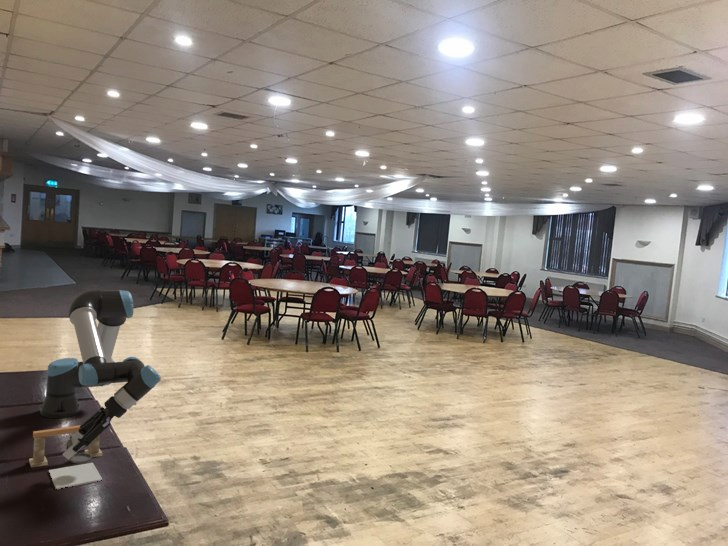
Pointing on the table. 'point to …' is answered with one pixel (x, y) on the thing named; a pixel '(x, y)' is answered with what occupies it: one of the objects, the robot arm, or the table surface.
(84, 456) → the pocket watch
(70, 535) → the table surface
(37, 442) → the posts
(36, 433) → the bar
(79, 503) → the table surface
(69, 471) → the mat
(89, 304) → the robot arm
